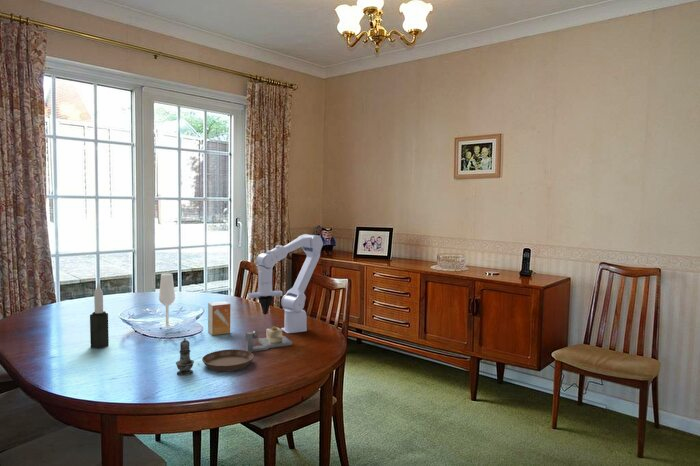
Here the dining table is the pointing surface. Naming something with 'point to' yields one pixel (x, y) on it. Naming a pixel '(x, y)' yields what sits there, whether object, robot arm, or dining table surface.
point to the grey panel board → (264, 343)
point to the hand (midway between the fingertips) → (265, 313)
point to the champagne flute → (167, 294)
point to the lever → (255, 334)
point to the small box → (219, 317)
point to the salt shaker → (184, 359)
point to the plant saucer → (227, 360)
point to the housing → (274, 334)
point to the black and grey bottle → (99, 322)
